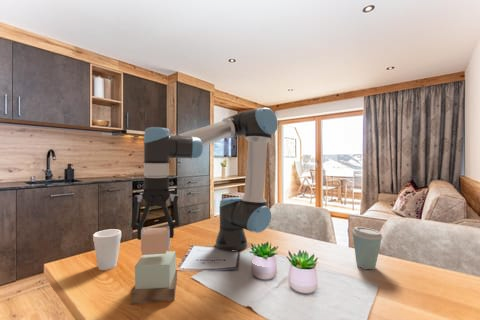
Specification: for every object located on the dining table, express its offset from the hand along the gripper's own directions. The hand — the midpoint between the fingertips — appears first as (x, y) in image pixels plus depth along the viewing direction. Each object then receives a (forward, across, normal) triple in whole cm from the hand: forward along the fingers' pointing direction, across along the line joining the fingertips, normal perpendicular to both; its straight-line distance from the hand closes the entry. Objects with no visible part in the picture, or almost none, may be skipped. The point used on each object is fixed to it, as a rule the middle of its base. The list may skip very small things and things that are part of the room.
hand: (155, 248), depth 76 cm
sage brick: (+10, 0, 0) cm, 10 cm away
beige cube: (0, 0, 0) cm, 0 cm away
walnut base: (+14, 0, 0) cm, 14 cm away
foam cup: (+14, +21, -21) cm, 32 cm away
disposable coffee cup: (+14, -79, -3) cm, 80 cm away
